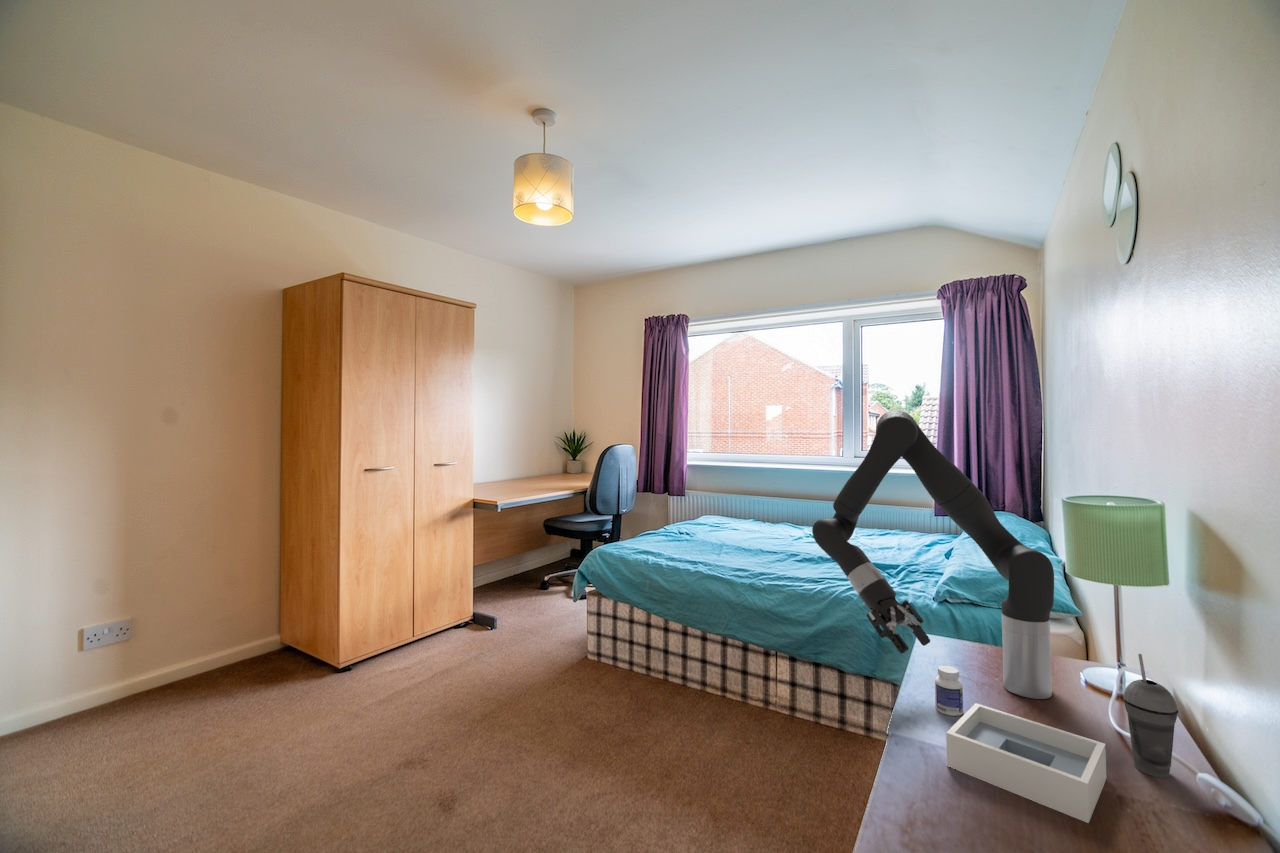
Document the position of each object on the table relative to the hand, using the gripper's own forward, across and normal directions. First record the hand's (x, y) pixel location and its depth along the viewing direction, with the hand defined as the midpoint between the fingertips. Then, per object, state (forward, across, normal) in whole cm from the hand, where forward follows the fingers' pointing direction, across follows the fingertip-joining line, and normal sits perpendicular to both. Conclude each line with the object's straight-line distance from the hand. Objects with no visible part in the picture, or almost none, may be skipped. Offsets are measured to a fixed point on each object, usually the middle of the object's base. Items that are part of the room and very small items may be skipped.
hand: (916, 647), depth 125 cm
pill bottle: (+13, 0, +3) cm, 14 cm away
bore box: (+27, -11, -11) cm, 31 cm away
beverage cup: (+35, +9, -19) cm, 41 cm away
